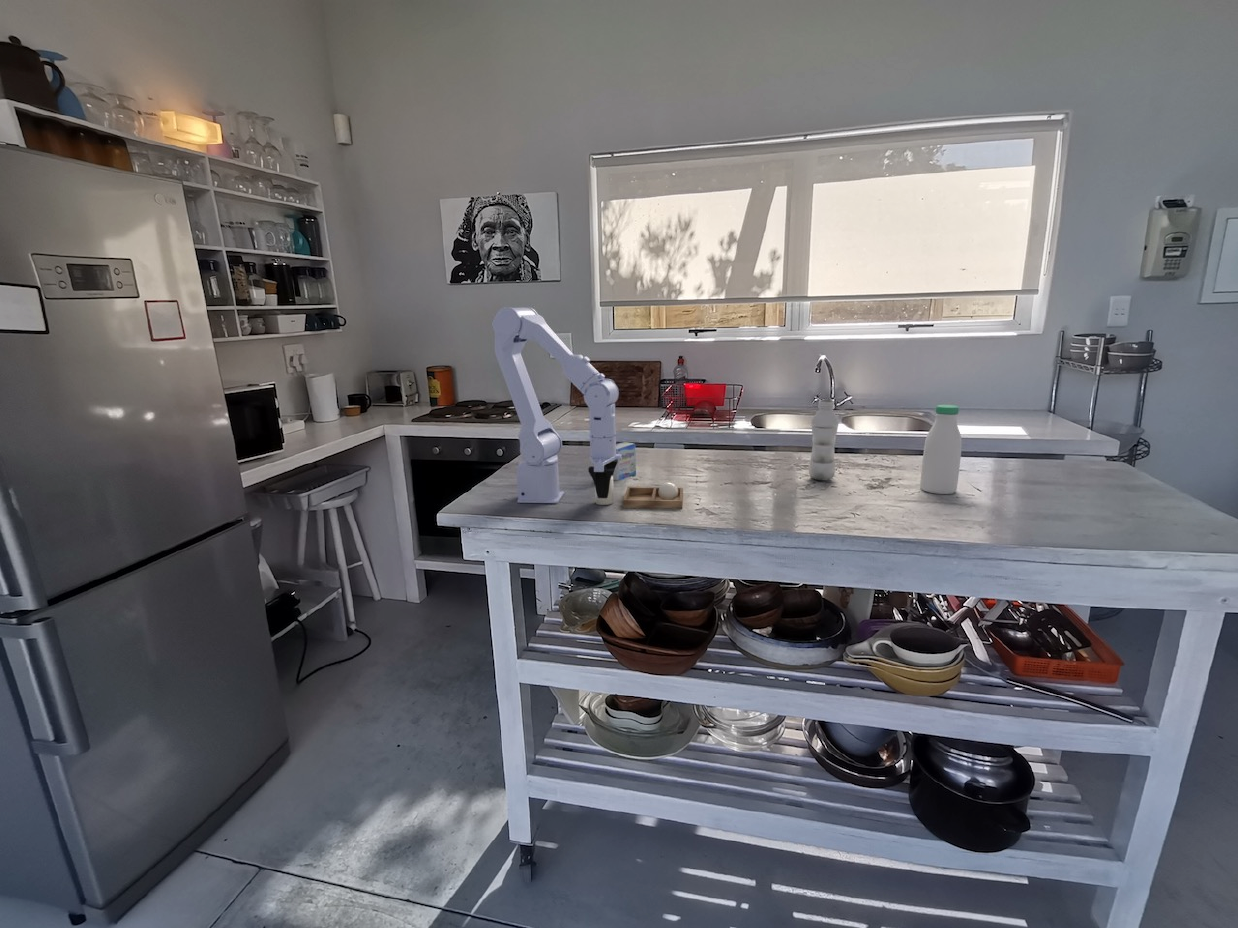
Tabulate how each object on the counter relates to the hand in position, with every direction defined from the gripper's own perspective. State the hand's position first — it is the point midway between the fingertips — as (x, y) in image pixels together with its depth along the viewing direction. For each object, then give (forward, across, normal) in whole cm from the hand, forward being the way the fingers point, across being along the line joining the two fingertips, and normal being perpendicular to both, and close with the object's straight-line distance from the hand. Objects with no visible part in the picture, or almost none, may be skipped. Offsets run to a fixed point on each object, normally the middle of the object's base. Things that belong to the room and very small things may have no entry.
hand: (604, 494), depth 137 cm
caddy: (+2, +2, -11) cm, 12 cm away
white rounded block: (+2, 0, 0) cm, 2 cm away
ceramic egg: (+2, +2, -14) cm, 15 cm away
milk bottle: (+2, +15, -77) cm, 79 cm away
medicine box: (+3, +23, -1) cm, 23 cm away
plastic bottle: (+2, +23, -52) cm, 57 cm away
